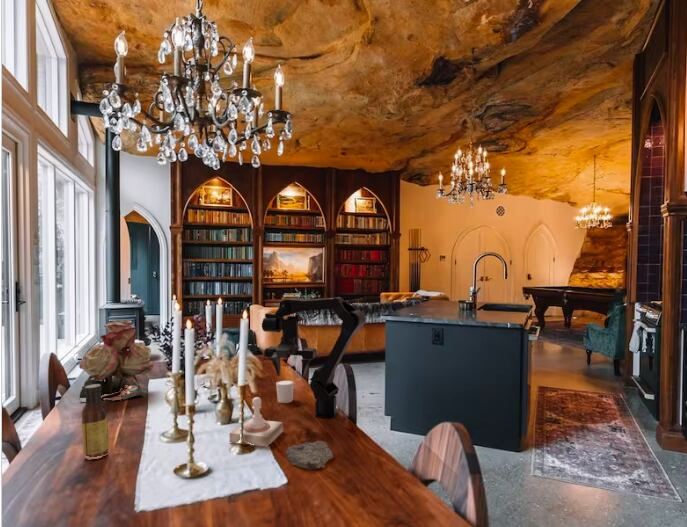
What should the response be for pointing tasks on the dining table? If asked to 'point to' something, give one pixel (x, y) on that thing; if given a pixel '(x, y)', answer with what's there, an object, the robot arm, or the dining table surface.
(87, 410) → the sauce bottle
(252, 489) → the dining table surface
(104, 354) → the rose bouquet
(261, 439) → the plinth
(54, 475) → the dining table surface
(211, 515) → the dining table surface
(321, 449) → the stone slab
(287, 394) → the shot glass
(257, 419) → the chess pawn
